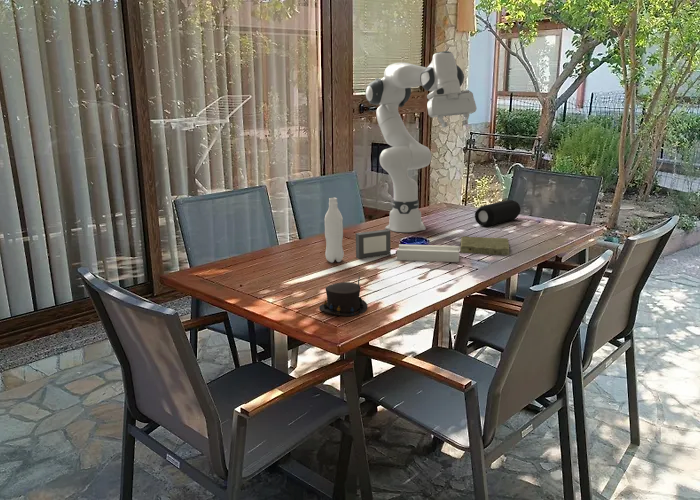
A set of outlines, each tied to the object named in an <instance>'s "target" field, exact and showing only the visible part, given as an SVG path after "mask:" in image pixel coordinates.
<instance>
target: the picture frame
mask: <svg viewBox="0 0 700 500" xmlns="http://www.w3.org/2000/svg"><path fill="white" fill-rule="evenodd" d="M391 244H392V243H391V230H389V229H386V228H385V229H380V230H372V231H363V232H356V233H355V258H356V259H358V260H365V259H370V258H376V257H382V256H383V257H384V256H391V251H392V250H391Z"/></svg>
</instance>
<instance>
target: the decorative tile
mask: <svg viewBox="0 0 700 500" xmlns="http://www.w3.org/2000/svg"><path fill="white" fill-rule="evenodd" d="M509 244H510V242H509V238H504V237H503V238H502V237H482V236H481V237H480V236H466V235H465V236H461V238H460V245H459V246H460V247H459V253H462V254H482V255H497V256H498V255H499V256H500V255H501V256H502V255H503V256H510V245H509Z"/></svg>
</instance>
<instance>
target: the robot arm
mask: <svg viewBox="0 0 700 500" xmlns="http://www.w3.org/2000/svg"><path fill="white" fill-rule="evenodd" d="M464 80H465V75H464V72H463V69H462V68H461V67H460V66H459V65H457V63H456V59H455V55H454V54H453V52H451V51H449V50H448V51H438V52H435V53H434V54H433V55H432V60H431V62H430V63H429V64H428V66H427V67H426V66H422V65H418V64H417V65H416V64H413V63H409V62H394V63H391V64H389V65H387V66H386V68H385V69H384V72H383V77H382V78H379V77H376V78H375V79H374V80H373V81H371V82H369V83H368V84H367V86H366V87H365V99H366V100H367V102H368V103H369V104H370V105H375V106H378V107H377V109H375V110H376V111H375V113H376V121H377V123H378V127H379V129H380V132H381V134H382V136H383V139H384V141H385V143H386V144H387V145H389V146H390V147H388V148H385V149H383V150H382V151H381V153H380V154H379V164H380V166H381V168H382V169H383V170H384V171H385V172H387V173H388V174H389V177H390V179H391V182H392V188H393V199H392V209H391V210H390V211H389V218H388V219H389V221H388V225H386V226H385V230H386V229H387V230H390V231H391V232H397V233H415V232H419V231H426V226H425V224H424V222H423V219H422V212H421V210H420V209H419V205H420V204H419V199H418V197H419V196H418V191H419V190H418V187H419V185H418V182H417V181H416V179H413V178H412V177H410V176H409V171H411V170H420V169H423V168H426V167H429V165H430V164H431V162H432V152H431V150H430V148H429V147H428V146H426V145H424V144H421V143H420V142H419V141H417V140H416V139H415V138H414V137H413V136H412V135H411V134H410V132H409V131H408V129H407V127H406V125H405V123H404V121H403V119H402V116H401V115H400V111H399V108H403V107H404V106H405V104H406V103H407V102H408V101H409V99H410V98H411V96H412V88H415V87H420V86H422V88H423V89H424V90H425V91H426V92H429V93H428V94H427V95H426V98H427V99H428V100H427V113H428V116H429V118H437V120H438V122H439V123H440V124H441V128H443V129H444V128H448V121H447V122H446V121H445V119H444V118H445V117H449V116H457V115H459V116H461V115H463V117H464V120H463V121H462V122H461V123H462V126H468V125H469V118H470V115H471V114H474V113H476V111H477V104H476V101H475V98H474V93H473V92H472V91H471V90H470V89H467V90H461V86H462V85H463V84H464Z"/></svg>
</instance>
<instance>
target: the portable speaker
mask: <svg viewBox="0 0 700 500" xmlns="http://www.w3.org/2000/svg"><path fill="white" fill-rule="evenodd" d="M474 212H475V213H474V219H475V222H476V223H477V224H478V225H480V226H482V227H489V226H490V225H491V226H494V225H497V224H502V223H505V222H510V221H512V220H515V219H517V218H518V216H519V215H520V213H521V205H520V203H519V202H517V201H516V200H513V199H508V200H507V199H506V200H503V201H498V202H493V203H490V204H485V205H481V206H480V207H478V208H477V209H476V211H474Z"/></svg>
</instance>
